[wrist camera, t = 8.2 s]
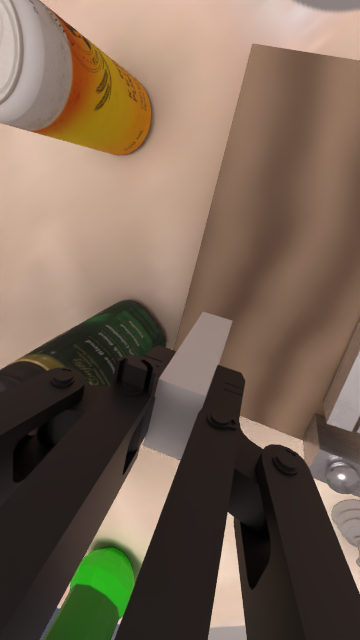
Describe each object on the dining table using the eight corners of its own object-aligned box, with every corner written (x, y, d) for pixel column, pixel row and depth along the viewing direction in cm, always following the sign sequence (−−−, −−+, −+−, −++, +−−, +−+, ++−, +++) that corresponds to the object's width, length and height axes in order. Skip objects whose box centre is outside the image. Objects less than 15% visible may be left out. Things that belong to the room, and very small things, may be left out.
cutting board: (169, 378, 36) (164, 385, 34) (254, 52, 24) (252, 43, 22) (372, 458, 32) (376, 469, 30) (603, 110, 19) (627, 103, 18)
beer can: (167, 99, 26) (43, -5, 13) (135, 169, 29) (6, 141, 16) (109, 61, 27) (-69, -79, 13) (83, 133, 30) (-87, 77, 16)
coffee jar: (133, 285, 33) (-21, 368, 17) (178, 344, 34) (75, 480, 17) (78, 331, 38) (-87, 434, 21) (120, 383, 38) (-8, 522, 22)
